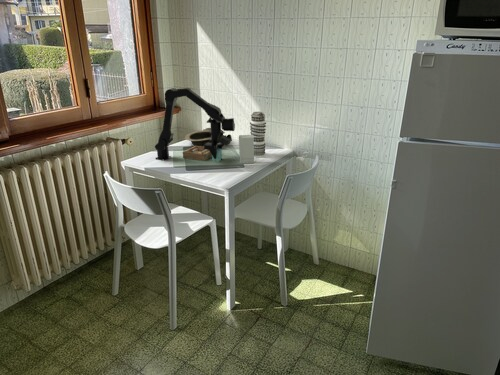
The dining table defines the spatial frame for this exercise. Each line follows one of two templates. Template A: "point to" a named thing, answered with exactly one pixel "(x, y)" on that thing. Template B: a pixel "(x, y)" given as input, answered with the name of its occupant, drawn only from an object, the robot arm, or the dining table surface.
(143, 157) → the dining table surface
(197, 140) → the stone bowl
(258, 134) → the decorative candle
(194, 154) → the walled box
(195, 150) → the socket
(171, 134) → the robot arm
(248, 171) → the dining table surface
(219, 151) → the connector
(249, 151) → the skincare box
